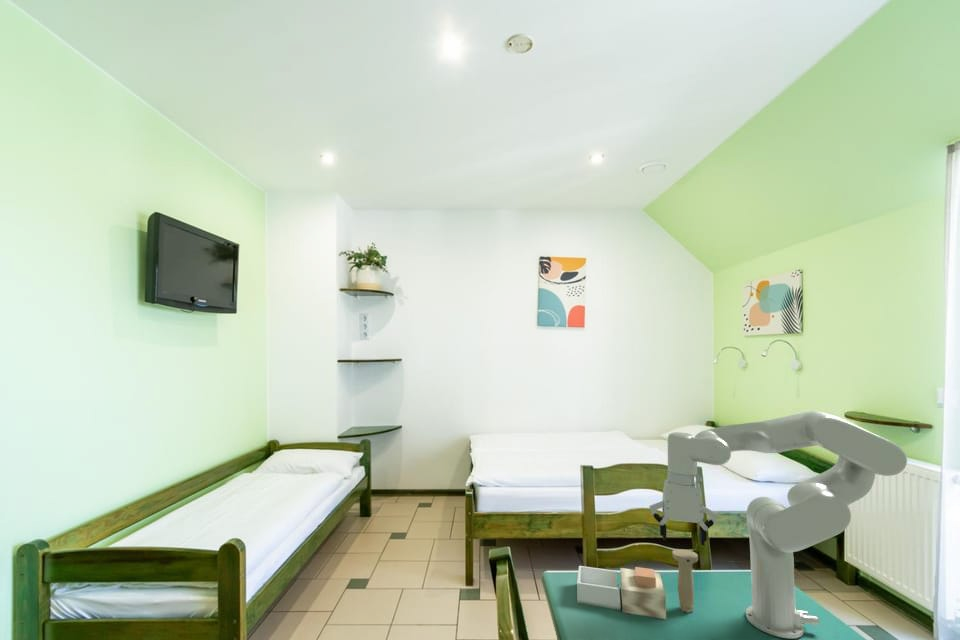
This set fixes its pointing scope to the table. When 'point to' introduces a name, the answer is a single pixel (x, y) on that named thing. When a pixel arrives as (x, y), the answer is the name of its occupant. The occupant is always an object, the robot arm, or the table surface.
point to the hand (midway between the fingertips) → (682, 540)
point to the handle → (685, 578)
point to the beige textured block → (642, 596)
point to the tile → (645, 577)
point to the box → (598, 587)
